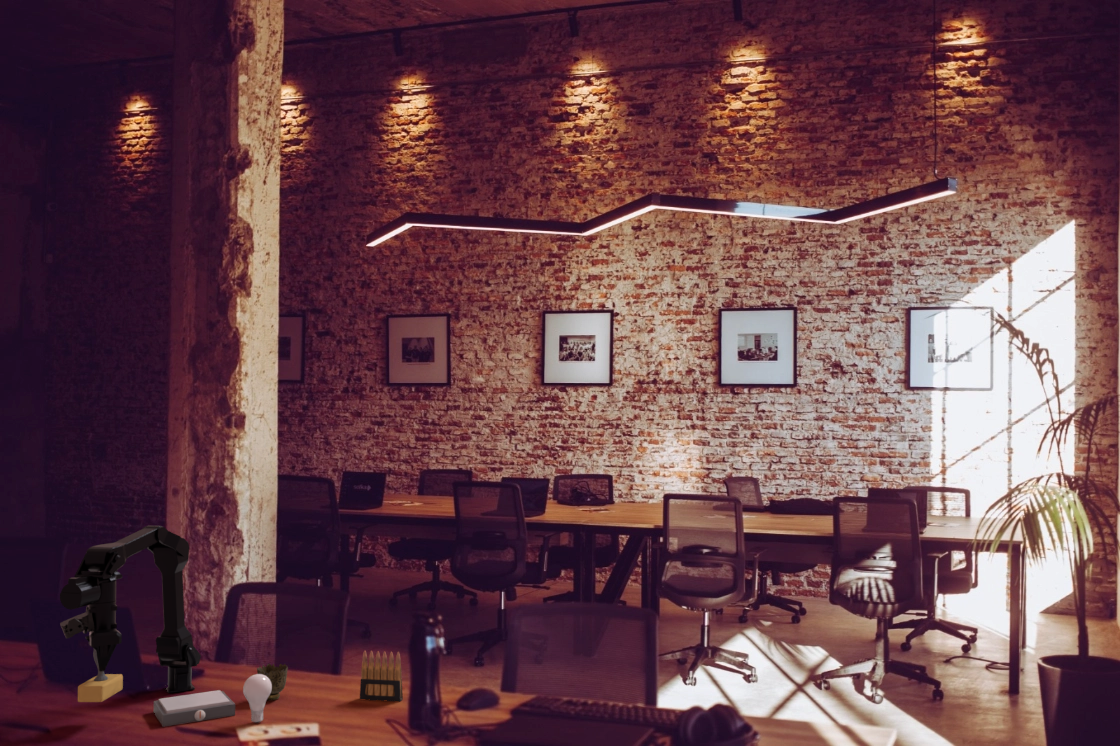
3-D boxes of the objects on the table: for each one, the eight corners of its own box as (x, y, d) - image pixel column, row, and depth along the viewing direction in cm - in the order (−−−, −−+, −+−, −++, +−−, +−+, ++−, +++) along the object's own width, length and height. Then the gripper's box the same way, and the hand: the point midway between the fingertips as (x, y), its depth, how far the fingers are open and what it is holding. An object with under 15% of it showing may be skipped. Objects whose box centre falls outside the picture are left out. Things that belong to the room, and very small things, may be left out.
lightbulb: (245, 728, 215) (245, 679, 216) (240, 720, 221) (241, 672, 222) (273, 724, 218) (274, 675, 219) (268, 716, 224) (269, 669, 225)
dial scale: (153, 712, 228) (153, 698, 228) (222, 701, 236) (222, 688, 237) (163, 727, 216) (163, 713, 217) (235, 715, 225) (235, 702, 225)
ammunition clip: (359, 699, 238) (359, 651, 238) (362, 697, 240) (362, 649, 240) (400, 701, 236) (400, 652, 237) (402, 699, 238) (403, 650, 238)
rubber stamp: (102, 702, 214) (103, 648, 215) (76, 702, 214) (77, 648, 215) (123, 689, 224) (124, 638, 225) (98, 689, 224) (99, 638, 225)
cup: (292, 695, 242) (292, 663, 242) (280, 703, 234) (281, 670, 235) (263, 694, 242) (264, 662, 243) (251, 703, 235) (252, 670, 236)
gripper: (59, 598, 224) (58, 665, 223) (66, 611, 208) (65, 684, 207) (111, 593, 230) (110, 659, 229) (122, 606, 214) (121, 676, 213)
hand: (101, 669), depth 219 cm, fingers closed on rubber stamp, 3 cm apart
